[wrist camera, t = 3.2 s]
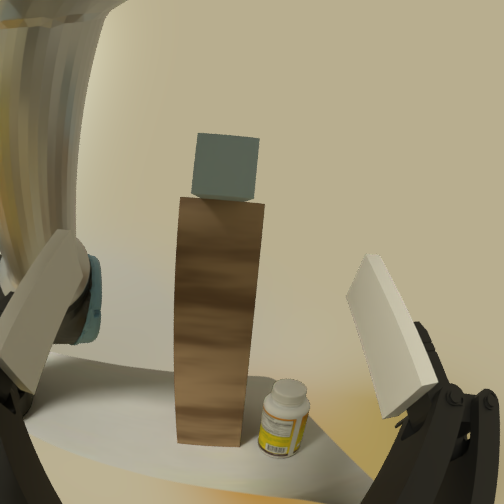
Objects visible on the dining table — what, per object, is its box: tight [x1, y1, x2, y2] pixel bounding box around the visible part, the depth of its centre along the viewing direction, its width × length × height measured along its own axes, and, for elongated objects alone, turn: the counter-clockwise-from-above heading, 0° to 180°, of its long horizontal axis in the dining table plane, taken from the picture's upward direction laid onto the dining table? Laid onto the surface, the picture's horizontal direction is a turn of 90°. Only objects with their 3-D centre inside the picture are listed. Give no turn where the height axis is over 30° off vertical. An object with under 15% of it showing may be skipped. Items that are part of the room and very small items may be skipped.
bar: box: [191, 133, 259, 202], centre depth 29 cm, size 22×4×4 cm, turn 6°
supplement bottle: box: [258, 379, 310, 458], centre depth 32 cm, size 6×6×10 cm
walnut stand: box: [174, 197, 265, 447], centre depth 34 cm, size 10×8×30 cm
